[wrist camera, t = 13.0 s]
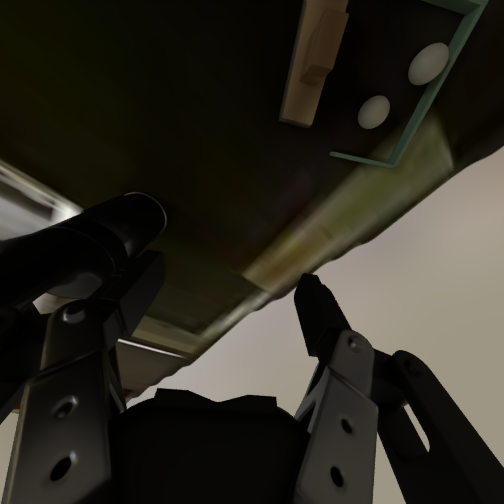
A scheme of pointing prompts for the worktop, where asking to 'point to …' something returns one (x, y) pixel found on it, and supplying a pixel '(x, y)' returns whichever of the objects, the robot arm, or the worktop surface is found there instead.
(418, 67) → the paper ball
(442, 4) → the corral
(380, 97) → the paper ball
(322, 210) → the worktop surface
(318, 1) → the brown t-shaped block
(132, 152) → the worktop surface
